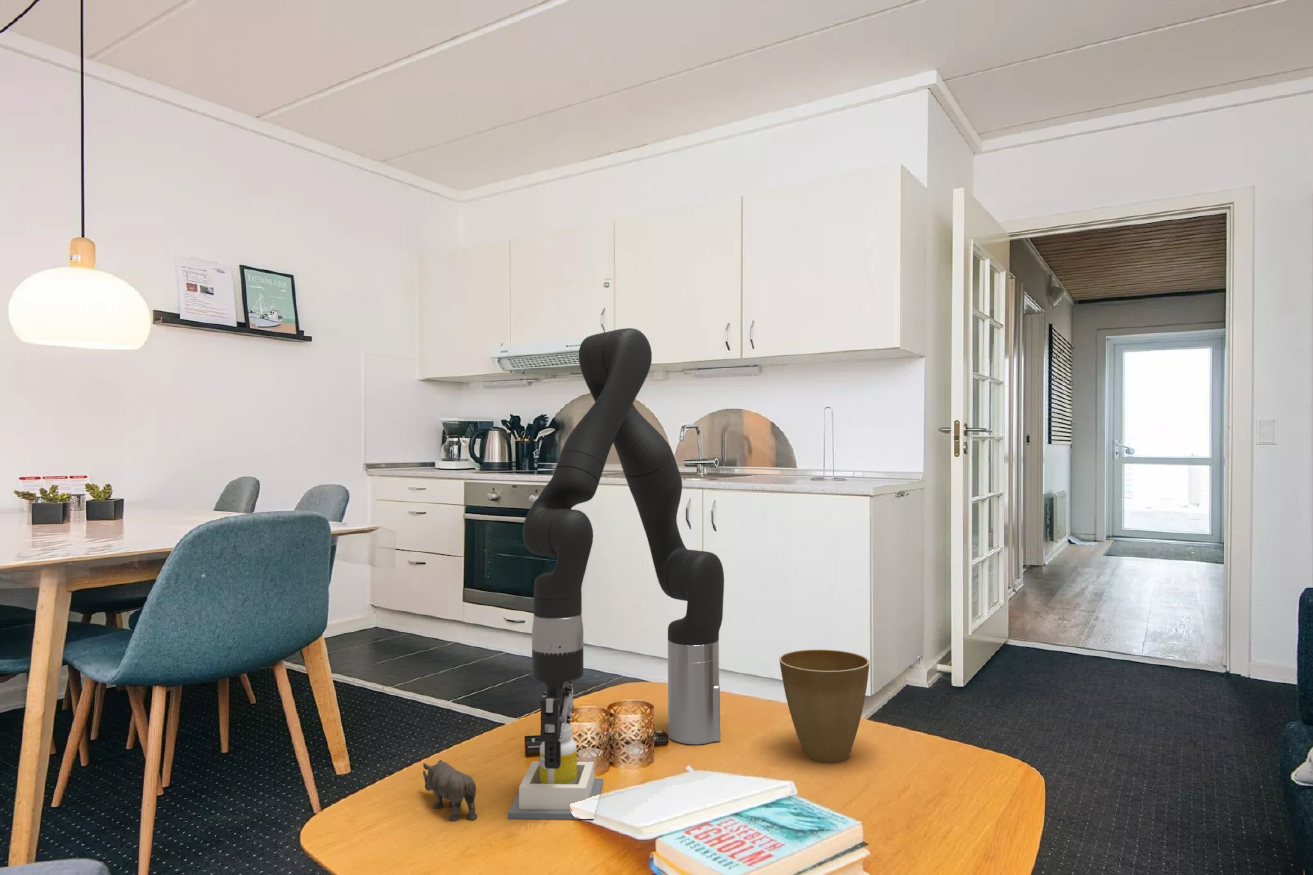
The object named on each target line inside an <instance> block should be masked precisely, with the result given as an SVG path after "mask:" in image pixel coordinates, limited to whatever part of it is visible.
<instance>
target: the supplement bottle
mask: <svg viewBox="0 0 1313 875" xmlns="http://www.w3.org/2000/svg"><path fill="white" fill-rule="evenodd" d="M548 732H550V733H555V726H549V730H548ZM572 736H573V726H572V725H571V723H570V724H568V723H566V725H565V726H563V727H562V739H561V765H560V767H559V768H558V769H548V768H546V767H545V742H541V744H540V747H539V761H540V784H577V762H578V753H577V746H578V745H577V743H576V741H575V739H572Z"/></svg>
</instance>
